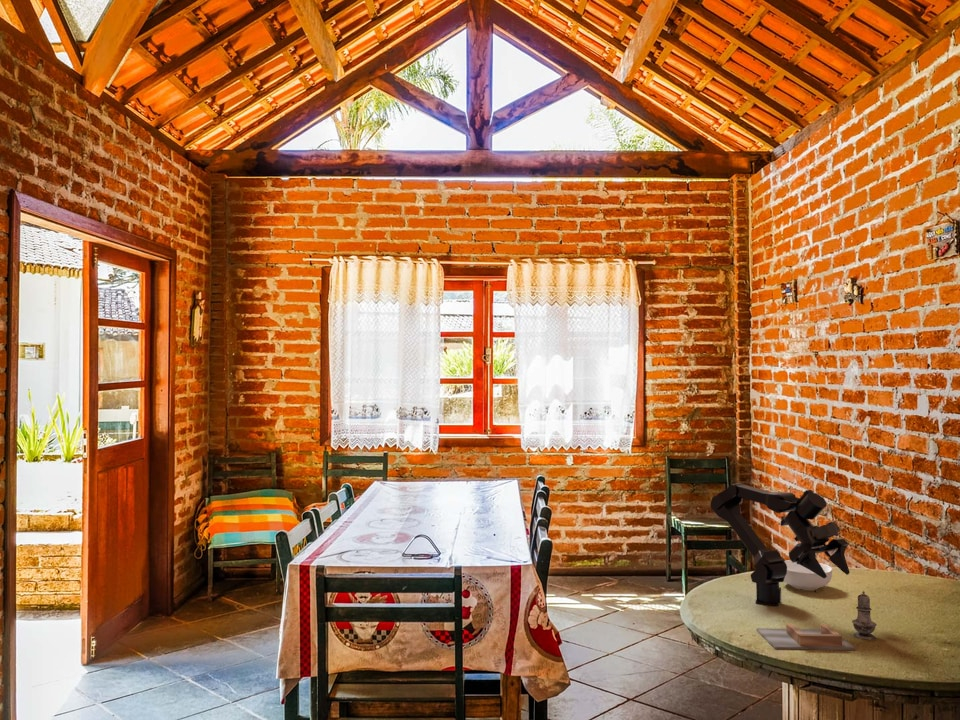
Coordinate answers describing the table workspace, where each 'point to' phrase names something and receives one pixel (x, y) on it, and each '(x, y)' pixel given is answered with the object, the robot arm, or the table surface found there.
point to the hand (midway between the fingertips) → (837, 575)
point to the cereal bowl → (806, 576)
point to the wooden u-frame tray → (805, 638)
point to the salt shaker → (864, 619)
